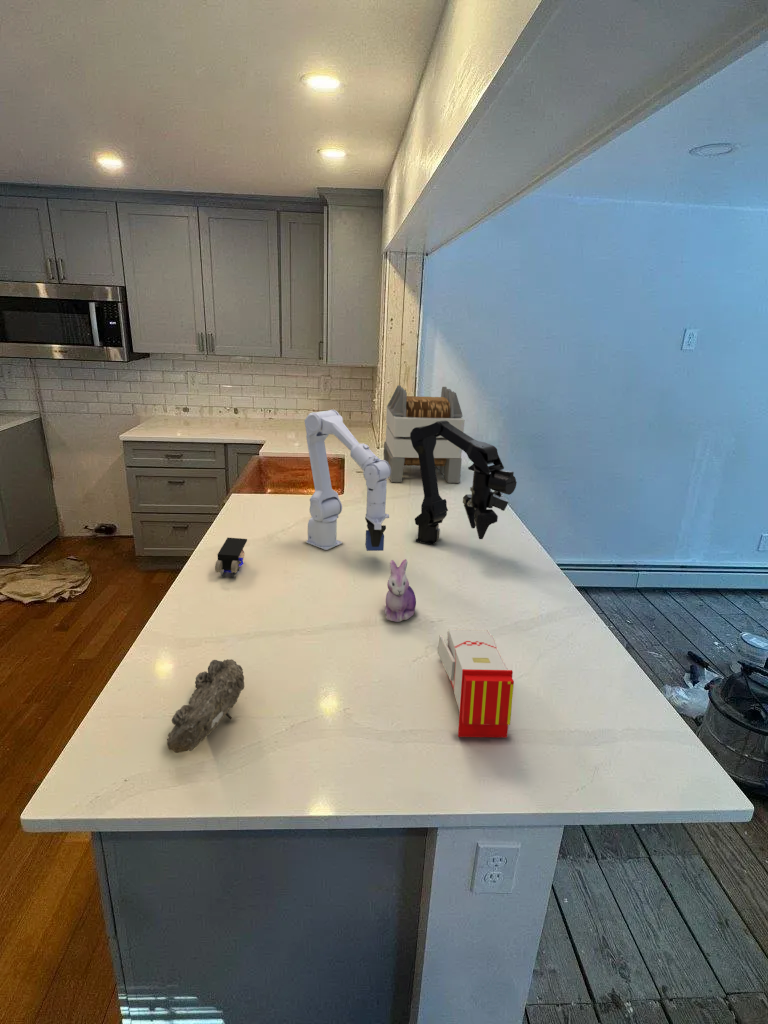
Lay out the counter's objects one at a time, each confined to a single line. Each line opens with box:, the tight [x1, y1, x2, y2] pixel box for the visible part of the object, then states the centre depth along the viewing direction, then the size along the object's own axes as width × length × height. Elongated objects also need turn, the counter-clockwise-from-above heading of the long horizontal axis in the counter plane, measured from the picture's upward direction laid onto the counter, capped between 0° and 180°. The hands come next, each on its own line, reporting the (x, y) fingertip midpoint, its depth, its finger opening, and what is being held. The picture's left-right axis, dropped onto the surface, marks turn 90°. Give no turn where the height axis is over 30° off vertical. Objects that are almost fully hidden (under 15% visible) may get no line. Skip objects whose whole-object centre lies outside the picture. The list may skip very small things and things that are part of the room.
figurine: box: [384, 558, 417, 623], centre depth 145 cm, size 9×10×15 cm
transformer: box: [383, 384, 465, 484], centre depth 268 cm, size 34×33×41 cm
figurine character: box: [214, 537, 248, 578], centre depth 166 cm, size 7×8×15 cm
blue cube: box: [365, 529, 385, 552], centre depth 174 cm, size 5×5×5 cm
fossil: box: [166, 658, 245, 754], centre depth 106 cm, size 22×10×15 cm
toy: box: [437, 628, 515, 738], centre depth 117 cm, size 12×13×30 cm
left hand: (374, 543), depth 174 cm, fingers closed on blue cube, 4 cm apart
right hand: (476, 533), depth 179 cm, fingers open, 9 cm apart
